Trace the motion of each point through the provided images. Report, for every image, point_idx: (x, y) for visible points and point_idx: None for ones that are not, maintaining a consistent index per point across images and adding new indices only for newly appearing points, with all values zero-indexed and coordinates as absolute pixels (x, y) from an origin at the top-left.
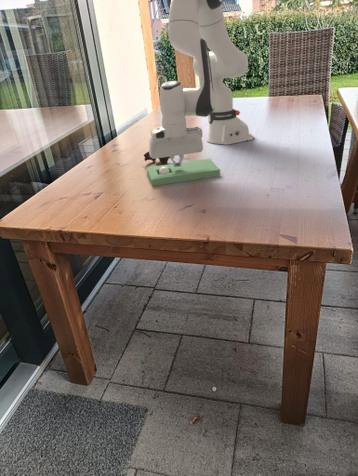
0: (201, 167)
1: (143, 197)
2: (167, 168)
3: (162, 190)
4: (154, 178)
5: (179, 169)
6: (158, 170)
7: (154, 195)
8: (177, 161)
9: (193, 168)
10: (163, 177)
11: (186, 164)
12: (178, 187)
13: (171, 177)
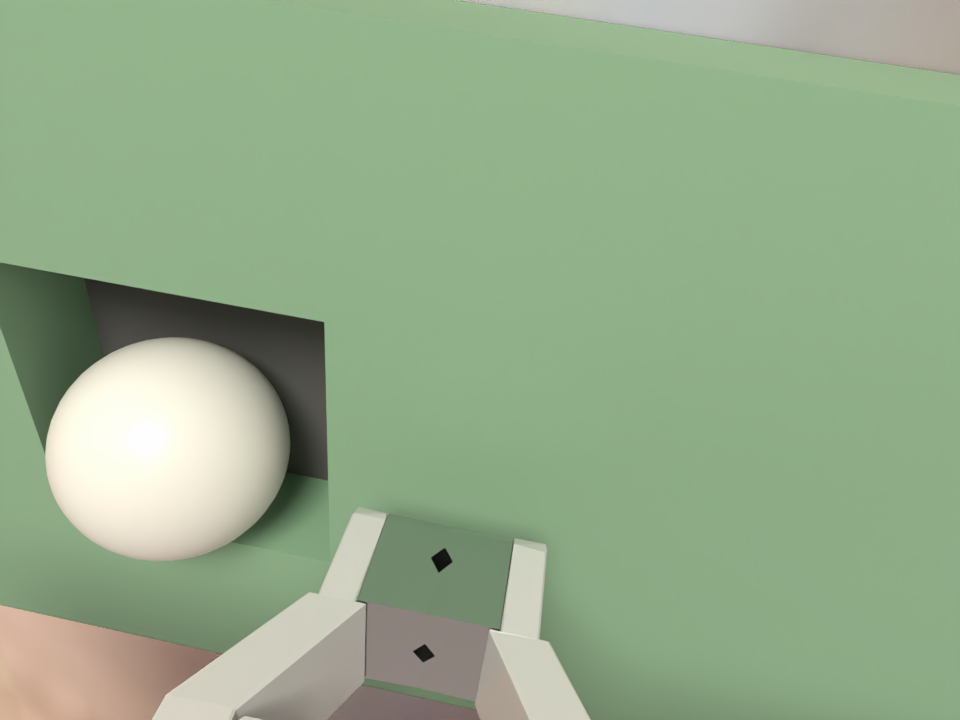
0: (946, 661)
1: (2, 670)
2: (209, 542)
3: (183, 657)
4: (21, 591)
5: (495, 516)
6: (51, 258)
7: (104, 690)
8: (440, 645)
9: (773, 619)
10: (157, 631)
11: (814, 347)
12: (365, 688)
13: None
